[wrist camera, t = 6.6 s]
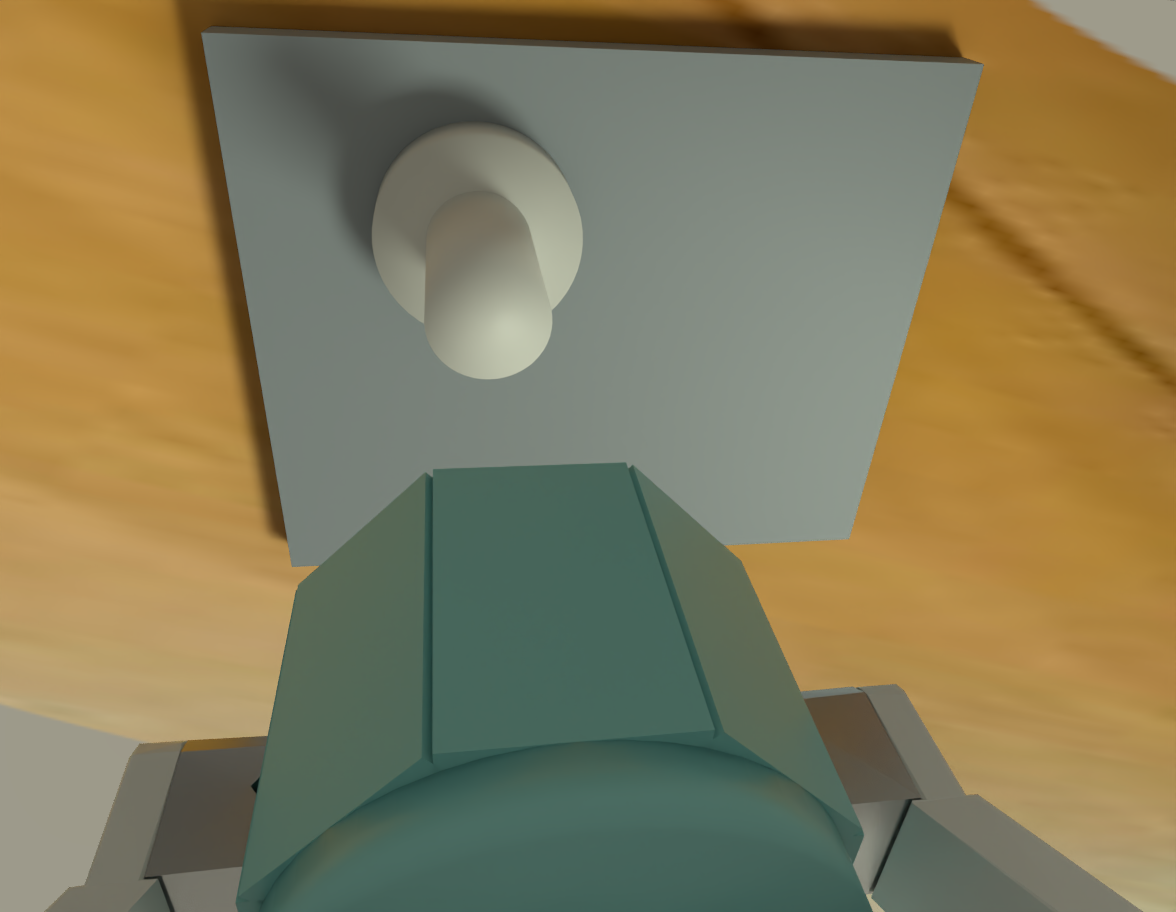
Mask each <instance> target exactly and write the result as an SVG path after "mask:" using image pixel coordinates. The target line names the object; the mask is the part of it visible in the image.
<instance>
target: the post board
mask: <svg viewBox="0 0 1176 912" xmlns="http://www.w3.org/2000/svg"><path fill="white" fill-rule="evenodd" d="M201 34H202V40H203V46H204V52H205V58H206V64H207V70H208V76H209V81H210V87H211V93H212V99H213V105H214V111H215V117H216V123H217V129H218V134H219V140H220V146H221V152H222V158H223V164H224V170H225V176H226V182H227V187H228V193H229V199H230V205H231V211H232V217H233V223H234V229H235V234H236V240H237V246H238V252H239V258H240V264H241V270H242V276H243V282H244V287H245V293H246V299H247V305H248V311H249V317H250V323H251V329H252V335H253V340H254V346H255V352H256V358H257V364H258V370H259V376H260V382H261V388H262V393H263V399H264V405H265V411H266V417H267V423H268V429H269V435H270V441H271V446H272V452H273V458H274V464H275V470H276V476H277V482H278V488H279V494H280V499H281V505H282V511H283V517H284V523H285V529H286V535H287V541H288V547H289V552H290V558H291V564H292V567H300V566H320V565H321V564H322V563H324V562H325V561H326V560H327V559H328V558H329V557H330V556H331V555H333V554H334V553H335V552H336V551H337V550H338V549H339V548H340V547H342V546H343V545H344V544H345V543H346V542H347V541H348V540H349V539H351V538H352V537H353V536H354V535H355V534H356V533H357V532H358V531H360V530H361V529H362V528H363V527H364V526H365V525H366V524H367V523H369V522H370V521H371V520H372V519H373V518H374V517H375V516H376V515H378V514H379V513H380V512H381V511H382V510H383V509H384V508H385V507H387V506H388V505H389V504H390V503H391V502H392V501H393V500H394V499H396V498H397V497H398V496H399V495H400V494H401V493H402V492H403V491H405V490H406V489H407V488H408V487H409V486H410V485H411V484H412V483H414V482H415V481H416V480H417V479H418V478H419V477H420V476H421V475H423V474H424V473H425V472H426V473H427V474H429V475H430V476H432V477H433V469H450V468H479V467H507V466H536V465H564V464H593V463H621V462H626V464H627V467H628V468H629V467H631V466H632V465H634V466H635V467H636V468H637V469H638V470H640V471H641V472H642V473H643V474H644V475H645V476H646V477H647V478H648V479H650V480H651V481H652V482H653V483H654V484H655V485H656V486H657V487H659V488H660V489H661V490H662V491H663V492H664V493H665V494H666V495H668V496H669V497H670V498H671V499H672V500H673V501H674V502H675V503H677V504H678V505H679V506H680V507H681V508H682V509H683V510H684V511H686V512H687V513H688V514H689V515H690V516H691V517H692V518H693V519H695V520H696V521H697V522H698V523H699V524H700V525H701V526H702V527H704V528H705V529H706V530H707V531H708V532H709V533H710V534H711V535H712V536H714V537H715V538H716V539H717V540H718V541H719V542H720V543H721V544H723V545H740V544H760V543H780V542H800V541H820V540H840V539H849V537H850V534H851V530H852V527H853V523H854V520H855V516H856V513H857V509H858V506H859V502H860V499H861V495H862V492H863V488H864V485H865V481H866V478H867V474H868V470H869V467H870V463H871V460H872V456H873V453H874V449H875V446H876V442H877V439H878V435H879V432H880V428H881V425H882V421H883V418H884V414H885V411H886V407H887V404H888V400H889V397H890V393H891V390H892V386H893V383H894V379H895V376H896V372H897V369H898V365H899V361H900V358H901V354H902V351H903V347H904V344H905V340H906V337H907V333H908V330H909V326H910V323H911V319H912V316H913V312H914V309H915V305H916V302H917V298H918V295H919V291H920V288H921V284H922V281H923V277H924V274H925V270H926V267H927V263H928V259H929V256H930V252H931V249H932V245H933V242H934V238H935V235H936V231H937V228H938V224H939V221H940V217H941V214H942V210H943V207H944V203H945V200H946V196H947V193H948V189H949V186H950V182H951V179H952V175H953V172H954V168H955V165H956V161H957V158H958V154H959V150H960V147H961V143H962V140H963V136H964V133H965V129H966V126H967V122H968V119H969V115H970V112H971V108H972V105H973V101H974V98H975V94H976V91H977V87H978V84H979V80H980V77H981V73H982V70H983V66H984V64H981V63H979V62H976V61H973V60H970V59H967V58H963V57H939V56H915V55H891V54H867V53H843V52H819V51H795V50H771V49H747V48H723V47H699V46H675V45H651V44H627V43H603V42H579V41H555V40H531V39H507V38H483V37H459V36H436V35H412V34H388V33H364V32H340V31H316V30H292V29H268V28H244V27H220V26H211V27H209V28H208V29H206V30H204V31H203V32H201Z"/></svg>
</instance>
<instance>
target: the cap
mask: <svg viewBox="0 0 1176 912" xmlns="http://www.w3.org/2000/svg"><path fill="white" fill-rule="evenodd" d="M862 830H863V829H862V827H861V824H860V822H859V820H858V818H857V816H856V813H855V811H854V809H853V807H852V805H851V802H850V800H849V798H848V796H847V793H846V791H845V789H844V787H843V785H842V782H841V780H840V778H839V776H838V774H837V771H836V769H835V767H834V765H833V763H832V760H831V758H830V756H829V754H828V752H827V749H826V747H825V745H824V743H823V741H822V738H821V736H820V734H819V732H818V730H817V727H816V725H815V723H814V721H813V719H812V716H811V714H810V712H809V710H808V707H807V705H806V703H805V701H804V699H803V696H802V694H801V692H800V690H799V688H798V685H797V683H796V681H795V679H794V677H793V674H792V672H791V670H790V668H789V666H788V663H787V661H786V659H785V657H784V655H783V652H782V650H781V648H780V646H779V644H778V641H777V639H776V637H775V635H774V632H773V630H772V628H771V626H770V624H769V621H768V619H767V617H766V615H765V613H764V610H763V608H762V606H761V604H760V602H759V599H758V597H757V595H756V593H755V591H754V588H753V586H752V584H751V582H750V580H749V577H748V575H747V573H746V571H745V569H744V566H743V564H742V562H741V560H739V559H738V558H737V557H736V556H735V555H734V554H733V553H732V552H730V551H729V550H728V549H727V548H726V547H725V546H724V545H723V544H721V543H720V542H719V541H718V540H717V539H716V538H715V537H714V536H712V535H711V534H710V533H709V532H708V531H707V530H706V529H705V528H704V527H702V526H701V525H700V524H699V523H698V522H697V521H696V520H695V519H693V518H692V517H691V516H690V515H689V514H688V513H687V512H686V511H684V510H683V509H682V508H681V507H680V506H679V505H678V504H677V503H675V502H674V501H673V500H672V499H671V498H670V497H669V496H668V495H666V494H665V493H664V492H663V491H662V490H661V489H660V488H659V487H657V486H656V485H655V484H654V483H653V482H652V481H651V480H650V479H648V478H647V477H646V476H645V475H644V474H643V473H642V472H641V471H640V470H638V469H637V468H636V467H635V466H634V465H632V466H631V467H629V468H628V467H627V464H626V462H621V463H593V464H564V465H536V466H507V467H479V468H450V469H433V477H432V476H430V475H429V474H427V473H426V472H425V473H424V474H423V475H421V476H420V477H419V478H418V479H417V480H416V481H415V482H414V483H412V484H411V485H410V486H409V487H408V488H407V489H406V490H405V491H403V492H402V493H401V494H400V495H399V496H398V497H397V498H396V499H394V500H393V501H392V502H391V503H390V504H389V505H388V506H387V507H385V508H384V509H383V510H382V511H381V512H380V513H379V514H378V515H376V516H375V517H374V518H373V519H372V520H371V521H370V522H369V523H367V524H366V525H365V526H364V527H363V528H362V529H361V530H360V531H358V532H357V533H356V534H355V535H354V536H353V537H352V538H351V539H349V540H348V541H347V542H346V543H345V544H344V545H343V546H342V547H340V548H339V549H338V550H337V551H336V552H335V553H334V554H333V555H331V556H330V557H329V558H328V559H327V560H326V561H325V562H324V563H322V564H321V565H320V566H319V567H318V568H317V569H316V570H315V571H313V572H312V573H311V574H310V575H309V576H308V577H307V578H306V579H304V580H303V581H302V582H301V583H300V584H299V585H298V589H297V590H296V593H295V599H294V604H293V609H292V614H291V619H290V624H289V629H288V635H287V640H286V645H285V650H284V655H283V660H282V665H281V671H280V676H279V681H278V686H277V691H276V696H275V701H274V707H273V712H272V717H271V722H270V727H269V732H268V737H267V743H266V748H265V753H264V758H263V763H262V768H261V773H260V779H259V784H258V789H257V794H256V799H255V804H254V809H253V814H252V820H251V825H250V830H249V835H248V840H247V845H246V850H245V856H244V861H243V866H242V871H241V876H240V881H239V886H238V892H237V897H236V902H235V903H236V907H237V910H238V912H873V911H872V909H871V906H870V904H869V901H868V899H867V897H866V894H865V892H864V890H863V887H862V885H861V883H860V880H859V878H858V876H857V873H856V871H855V869H854V866H853V863H854V861H855V858H856V856H857V853H858V850H859V848H860V845H861V843H862V840H863V838H864V833H863V831H862Z"/></svg>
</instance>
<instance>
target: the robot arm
mask: <svg viewBox="0 0 1176 912" xmlns="http://www.w3.org/2000/svg"><path fill="white" fill-rule="evenodd" d="M801 694H802V696H803V699H804V701H805V703H806V705H807V707H808V710H809V712H810V714H811V716H812V719H813V721H814V723H815V725H816V727H817V730H818V732H819V734H820V736H821V738H822V741H823V743H824V745H825V747H826V749H827V752H828V754H829V756H830V758H831V760H832V763H833V765H834V767H835V769H836V771H837V774H838V776H839V778H840V780H841V782H842V785H843V787H844V789H845V791H846V793H847V796H848V798H849V800H850V802H851V805H852V807H853V809H854V811H855V813H856V816H857V818H858V820H859V822H860V824H861V827H862V829H863V830H862V831H863V833H864V838H863V840H862V843H861V845H860V848H859V850H858V853H857V856H856V858H855V861H854V863H853V866H854V869H855V871H856V873H857V876H858V878H859V880H860V883H861V885H862V887H863V890H864V892H865V894H872V897H871V898H872V899H873V900H874V901H875V902H876V903H877V904H878V905H879V906H880V907H881V908H882V909H883V910H884V911H885V912H1143V911H1141V910H1140V909H1138V908H1137V907H1136V906H1134V905H1133V904H1131V903H1130V902H1129V901H1127V900H1126V899H1124V898H1123V897H1122V896H1120V895H1119V894H1117V893H1116V892H1114V891H1113V890H1112V889H1110V888H1109V887H1107V886H1106V885H1105V884H1103V883H1102V882H1100V881H1099V880H1098V879H1096V878H1095V877H1093V876H1092V875H1091V874H1089V873H1088V872H1086V871H1085V870H1083V869H1082V868H1081V867H1079V866H1078V865H1076V864H1075V863H1074V862H1072V861H1071V860H1069V859H1068V858H1067V857H1065V856H1064V855H1062V854H1061V853H1060V852H1058V851H1057V850H1055V849H1054V848H1052V847H1051V846H1050V845H1048V844H1047V843H1045V842H1044V841H1043V840H1041V839H1040V838H1038V837H1037V836H1036V835H1034V834H1033V833H1031V832H1030V831H1029V830H1027V829H1026V828H1024V827H1023V826H1021V825H1020V824H1019V823H1017V822H1016V821H1014V820H1013V819H1012V818H1010V817H1009V816H1007V815H1006V814H1005V813H1003V812H1002V811H1000V810H999V809H997V808H996V807H995V806H993V805H992V804H990V803H989V802H988V801H986V800H985V799H983V798H982V797H981V796H979V795H978V794H974V795H966V794H965V792H964V791H963V789H962V787H961V786H960V784H959V782H958V781H957V779H956V777H955V776H954V774H953V772H952V771H951V769H950V767H949V766H948V764H947V762H946V760H945V759H944V757H943V755H942V754H941V752H940V750H939V749H938V747H937V745H936V744H935V742H934V740H933V739H932V737H931V735H930V734H929V732H928V730H927V728H926V727H925V725H924V723H923V722H922V720H921V718H920V717H919V715H918V713H917V712H916V710H915V708H914V707H913V705H912V703H911V702H910V700H909V698H908V696H907V695H906V693H905V691H904V690H903V689H901V688H900V687H899V686H898V685H896V684H892V685H879V686H867V687H857V688H854V687H845V688H835V689H824V690H813V691H803V692H801ZM267 737H268V736H259V737H241V738H223V739H204V740H188V741H174V742H160V743H145V744H139V745H138V747H137V748H136V749H135V751H134V752H133V753H132V755H131V756H130V758H129V760H128V763H127V766H126V768H125V772H124V774H123V777H122V780H121V783H120V785H119V789H118V791H117V794H116V797H115V800H114V803H113V805H112V808H111V812H110V814H109V817H108V820H107V823H106V826H105V828H104V831H103V834H102V837H101V840H100V843H99V845H98V848H97V851H96V854H95V857H94V860H93V862H92V866H91V868H90V871H89V874H88V877H87V880H86V882H85V885H84V886H76V887H69V888H68V889H67V890H66V891H65V892H64V893H63V894H62V895H61V896H60V897H59V898H58V899H57V900H56V901H55V902H54V903H53V904H52V905H51V906H50V907H49V908H48V909H47V910H46V911H45V912H238V910H237V907H236V903H235V902H236V897H237V892H238V886H239V881H240V876H241V871H242V866H243V861H244V856H245V850H246V845H247V840H248V835H249V830H250V825H251V820H252V814H253V809H254V804H255V799H256V794H257V789H258V784H259V779H260V773H261V768H262V763H263V758H264V753H265V748H266V743H267Z"/></svg>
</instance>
